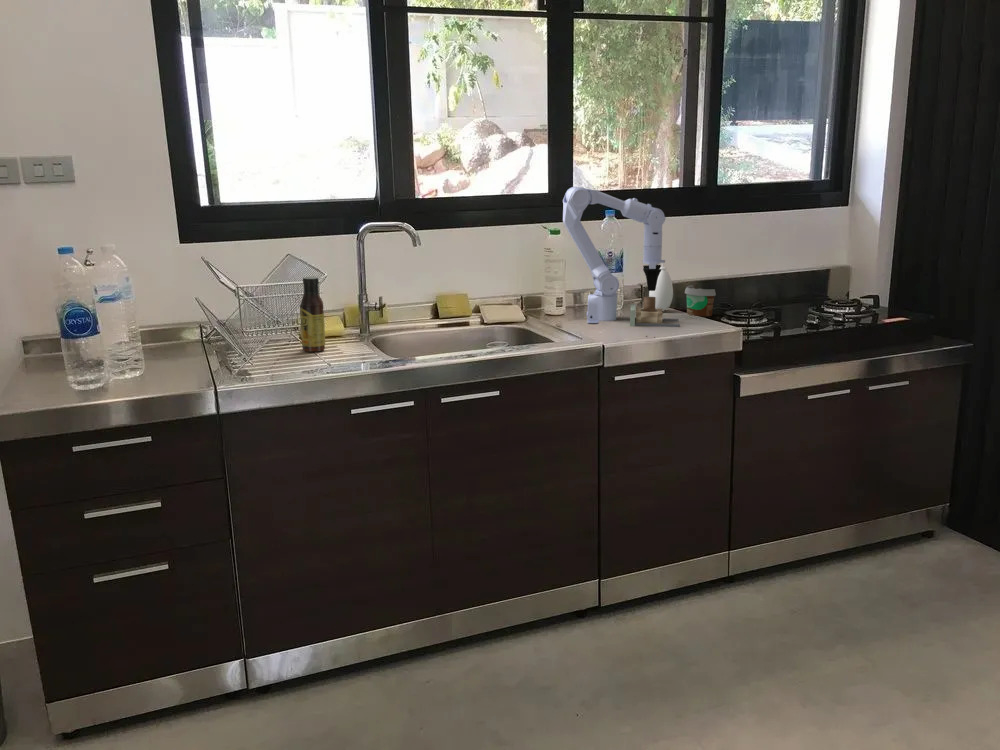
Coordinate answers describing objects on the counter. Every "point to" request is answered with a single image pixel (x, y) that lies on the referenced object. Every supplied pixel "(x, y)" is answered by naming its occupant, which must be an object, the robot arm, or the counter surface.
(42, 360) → the counter surface
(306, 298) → the sauce bottle
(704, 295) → the food container
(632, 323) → the slide board
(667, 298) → the sauce bottle
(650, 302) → the walnut dowel
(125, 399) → the counter surface
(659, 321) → the maple block
